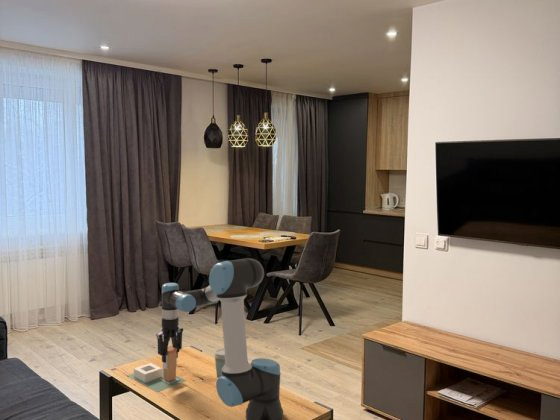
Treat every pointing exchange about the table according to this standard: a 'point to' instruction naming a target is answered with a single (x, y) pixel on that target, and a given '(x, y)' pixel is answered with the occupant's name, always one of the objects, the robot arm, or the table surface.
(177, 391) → the table surface
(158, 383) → the peg socket board
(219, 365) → the coffee cup
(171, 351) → the plug
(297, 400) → the table surface
